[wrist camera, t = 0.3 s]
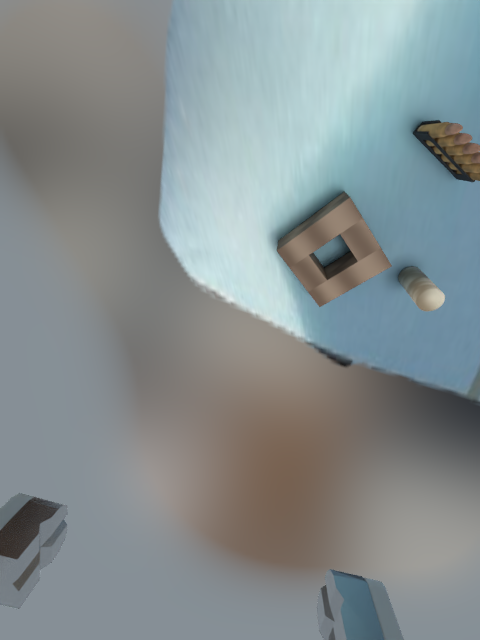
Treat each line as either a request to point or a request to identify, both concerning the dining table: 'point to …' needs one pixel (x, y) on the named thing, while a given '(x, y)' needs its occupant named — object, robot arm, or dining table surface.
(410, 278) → the peg
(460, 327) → the dining table surface
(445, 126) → the ammunition clip
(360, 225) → the socket block
